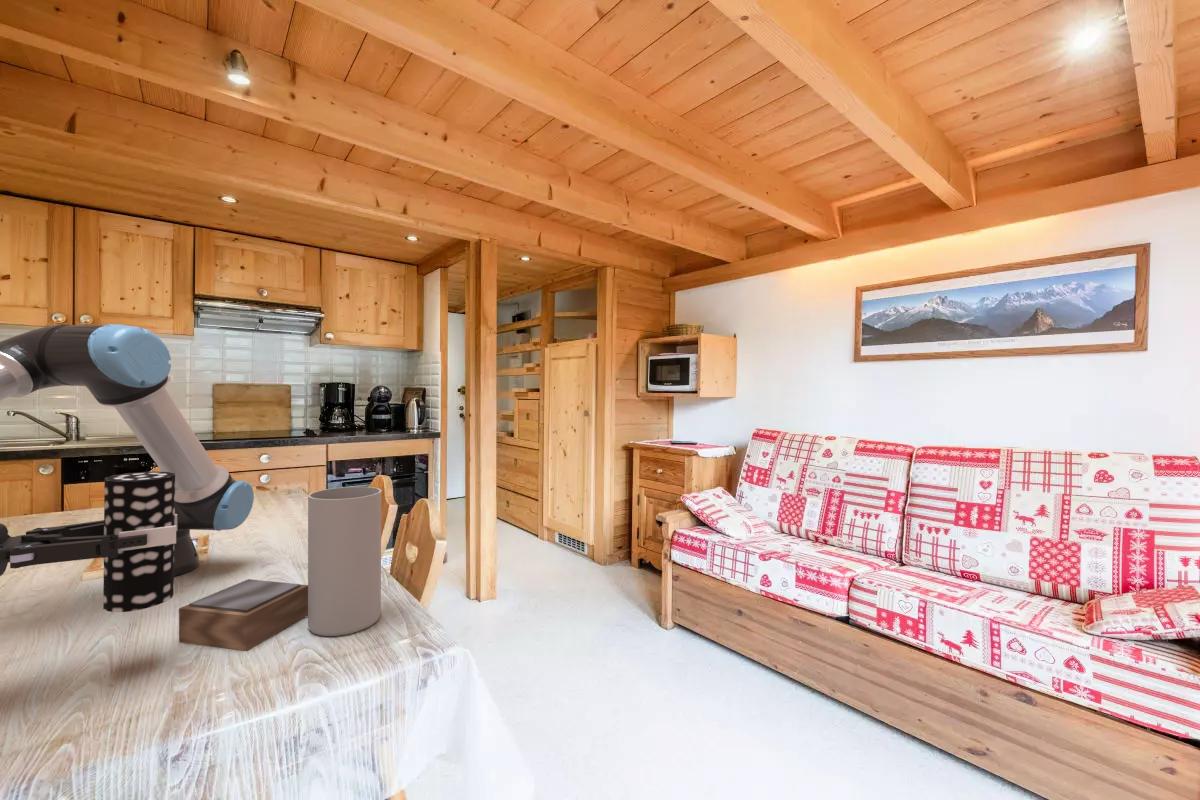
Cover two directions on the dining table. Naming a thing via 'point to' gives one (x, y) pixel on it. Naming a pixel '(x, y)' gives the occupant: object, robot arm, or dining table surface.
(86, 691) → the dining table surface
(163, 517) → the spotted tube
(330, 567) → the cylinder vase
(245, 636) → the display pedestal
